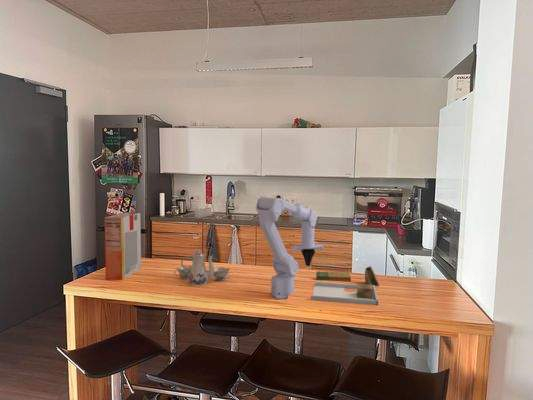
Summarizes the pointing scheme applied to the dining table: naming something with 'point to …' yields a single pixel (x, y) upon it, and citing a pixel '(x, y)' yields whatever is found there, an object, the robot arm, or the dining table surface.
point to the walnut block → (364, 291)
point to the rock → (371, 276)
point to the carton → (333, 276)
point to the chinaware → (201, 270)
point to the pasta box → (122, 245)
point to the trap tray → (340, 294)
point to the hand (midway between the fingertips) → (307, 265)
